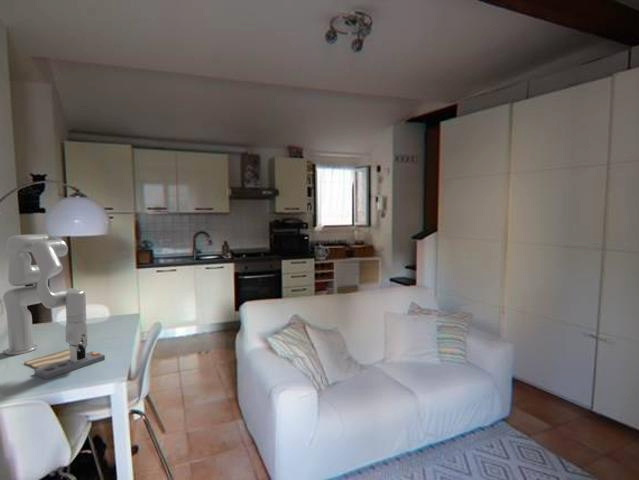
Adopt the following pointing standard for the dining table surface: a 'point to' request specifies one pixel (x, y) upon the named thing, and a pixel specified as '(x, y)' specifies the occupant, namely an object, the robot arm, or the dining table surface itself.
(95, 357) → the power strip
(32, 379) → the dining table surface
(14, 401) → the dining table surface
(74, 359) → the block
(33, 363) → the wooden board
